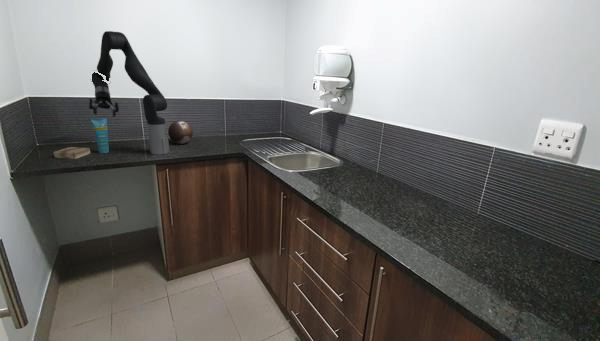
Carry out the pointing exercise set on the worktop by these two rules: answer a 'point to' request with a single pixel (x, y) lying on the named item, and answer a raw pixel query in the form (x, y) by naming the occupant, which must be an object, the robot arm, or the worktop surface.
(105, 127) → the tube
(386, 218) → the worktop surface
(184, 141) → the wooden sphere
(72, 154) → the plinth
